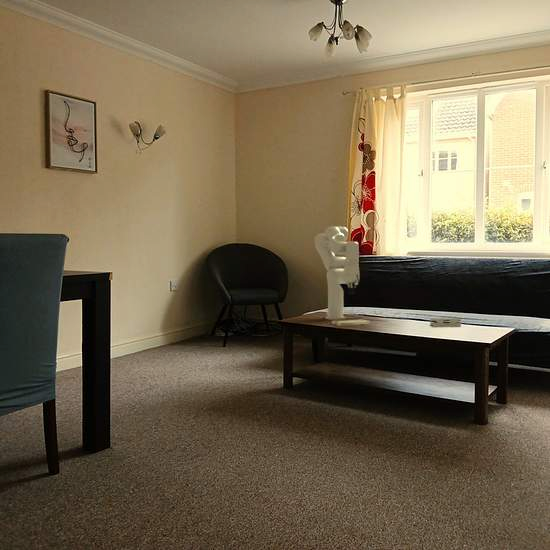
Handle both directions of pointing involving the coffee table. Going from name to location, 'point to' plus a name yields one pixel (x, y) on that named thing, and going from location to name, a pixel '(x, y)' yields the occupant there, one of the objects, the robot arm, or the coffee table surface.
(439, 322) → the grey rounded slab
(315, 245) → the robot arm
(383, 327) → the coffee table surface
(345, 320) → the cabinet panel
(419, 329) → the coffee table surface
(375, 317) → the coffee table surface
